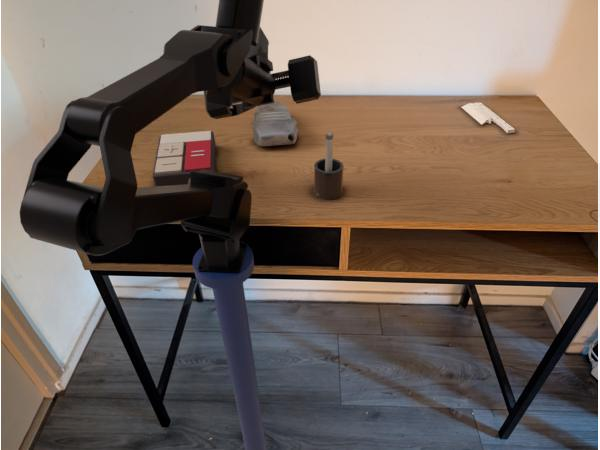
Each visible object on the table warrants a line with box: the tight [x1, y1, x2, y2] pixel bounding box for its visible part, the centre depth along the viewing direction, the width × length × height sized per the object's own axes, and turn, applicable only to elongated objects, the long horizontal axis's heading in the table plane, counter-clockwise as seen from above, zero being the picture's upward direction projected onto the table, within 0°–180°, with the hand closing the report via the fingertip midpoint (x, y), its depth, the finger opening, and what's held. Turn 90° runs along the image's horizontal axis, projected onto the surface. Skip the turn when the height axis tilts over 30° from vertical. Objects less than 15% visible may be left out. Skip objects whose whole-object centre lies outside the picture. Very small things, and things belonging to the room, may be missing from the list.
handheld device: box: [252, 101, 299, 147], centre depth 97 cm, size 10×20×5 cm, turn 8°
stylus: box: [324, 131, 334, 172], centre depth 74 cm, size 1×1×11 cm
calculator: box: [152, 130, 217, 186], centre depth 85 cm, size 11×4×15 cm
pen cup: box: [313, 158, 345, 201], centre depth 77 cm, size 5×5×6 cm
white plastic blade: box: [461, 101, 516, 134], centre depth 100 cm, size 5×15×1 cm, turn 10°
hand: (278, 99), depth 76 cm, fingers open, 9 cm apart
